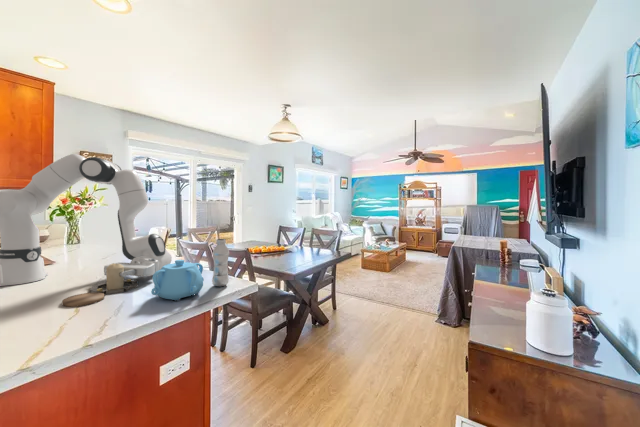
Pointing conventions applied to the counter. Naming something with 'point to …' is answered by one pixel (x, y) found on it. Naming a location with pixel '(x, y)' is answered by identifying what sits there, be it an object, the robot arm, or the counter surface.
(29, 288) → the counter surface
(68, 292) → the counter surface
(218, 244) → the plastic bottle
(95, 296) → the coaster
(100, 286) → the collar
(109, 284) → the candle
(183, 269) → the decorative pot
